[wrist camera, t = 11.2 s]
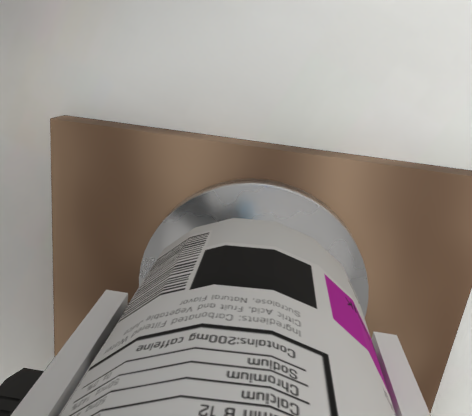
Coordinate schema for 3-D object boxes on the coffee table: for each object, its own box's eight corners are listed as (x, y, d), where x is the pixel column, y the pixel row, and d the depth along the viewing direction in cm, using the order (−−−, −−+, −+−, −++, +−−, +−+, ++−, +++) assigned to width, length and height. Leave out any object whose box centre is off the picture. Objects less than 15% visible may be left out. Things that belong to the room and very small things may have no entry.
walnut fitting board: (67, 514, 27) (57, 534, 26) (64, 115, 19) (50, 118, 18) (366, 570, 26) (370, 593, 25) (492, 173, 18) (507, 180, 17)
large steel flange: (140, 357, 21) (134, 371, 20) (151, 163, 18) (144, 169, 17) (340, 389, 20) (343, 405, 20) (387, 196, 17) (393, 204, 16)
